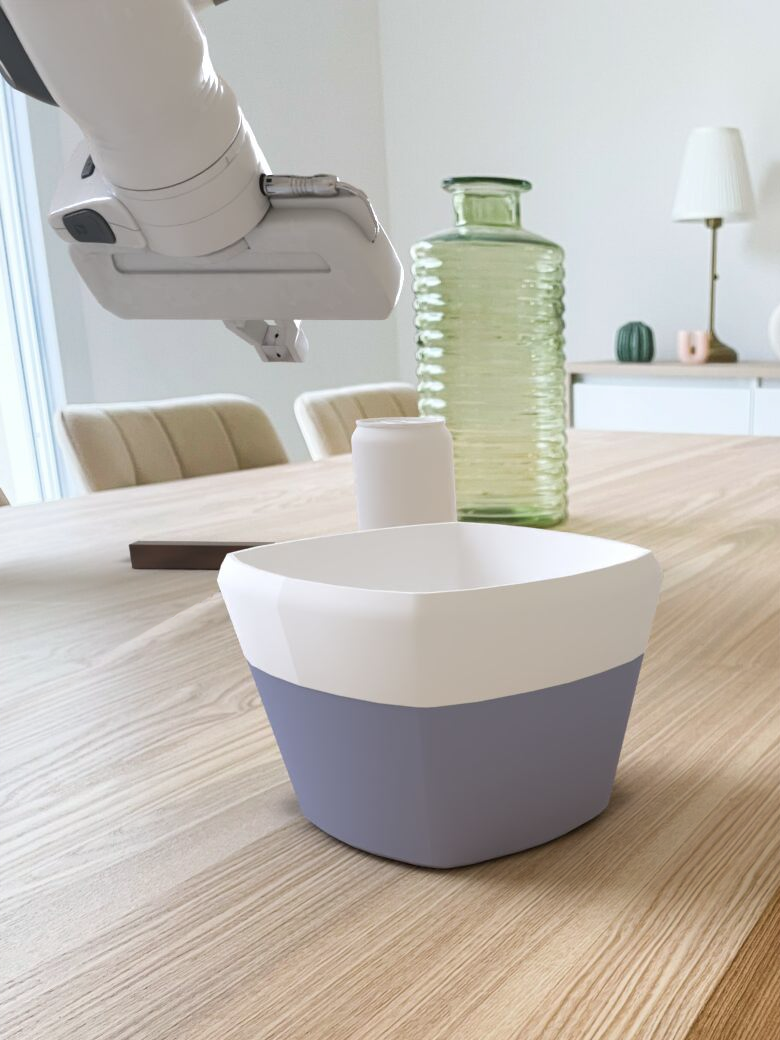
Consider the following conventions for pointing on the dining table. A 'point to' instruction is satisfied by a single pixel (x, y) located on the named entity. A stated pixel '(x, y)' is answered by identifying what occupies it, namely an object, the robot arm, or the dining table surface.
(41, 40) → the robot arm
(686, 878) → the dining table surface
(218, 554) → the walnut stick
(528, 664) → the bowl
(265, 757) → the dining table surface
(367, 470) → the beverage can
